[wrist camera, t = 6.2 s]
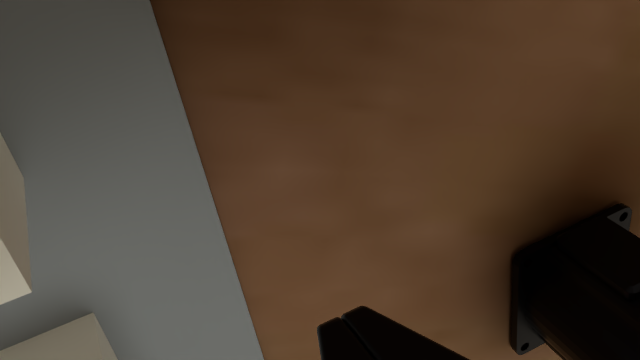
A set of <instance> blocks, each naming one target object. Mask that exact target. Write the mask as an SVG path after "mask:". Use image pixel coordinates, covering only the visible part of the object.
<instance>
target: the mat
mask: <svg viewBox="0 0 640 360" xmlns="http://www.w3.org/2000/svg"><path fill="white" fill-rule="evenodd" d="M0 133H1V135H2V137H3V139H4V141H5V143H6V145H7V147H8V148H9V150H10V152H11V154H12V156H13V158H14V160H15V162H16V164H17V166H18V168H19V170H20V172H21V174H22V176H23V177H24V187H25V201H26V215H27V229H28V243H29V257H30V271H31V285H32V292H31V293H29V294H26V295H24V296H21V297H19V298H16V299H14V300H11V301H9V302H6V303H4V304H1V305H0V351H1V350H3V349H6V348H8V347H11V346H13V345H16V344H18V343H20V342H23V341H25V340H28V339H30V338H33V337H35V336H37V335H40V334H42V333H45V332H47V331H49V330H52V329H54V328H57V327H59V326H62V325H64V324H66V323H69V322H71V321H74V320H76V319H78V318H81V317H83V316H86V315H88V314H91V313H94V315H95V317H96V318H97V320H98V322H99V324H100V326H101V328H102V330H103V332H104V334H105V336H106V338H107V340H108V342H109V344H110V345H111V347H112V349H113V351H114V353H115V355H116V357H117V359H118V360H264V358H263V355H262V352H261V349H260V346H259V342H258V339H257V336H256V333H255V330H254V327H253V324H252V320H251V317H250V314H249V311H248V308H247V305H246V302H245V298H244V295H243V292H242V289H241V286H240V283H239V280H238V276H237V273H236V270H235V267H234V264H233V261H232V258H231V254H230V251H229V248H228V245H227V242H226V239H225V236H224V232H223V229H222V226H221V223H220V220H219V217H218V214H217V211H216V207H215V204H214V201H213V198H212V195H211V192H210V189H209V185H208V182H207V179H206V176H205V173H204V170H203V167H202V163H201V160H200V157H199V154H198V151H197V148H196V145H195V141H194V138H193V135H192V132H191V129H190V126H189V123H188V119H187V116H186V113H185V110H184V107H183V104H182V101H181V97H180V94H179V91H178V88H177V85H176V82H175V79H174V75H173V72H172V69H171V66H170V63H169V60H168V57H167V53H166V50H165V47H164V44H163V41H162V38H161V35H160V31H159V28H158V25H157V22H156V19H155V16H154V13H153V9H152V6H151V3H150V0H0Z"/></svg>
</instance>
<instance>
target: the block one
mask: <svg viewBox="0 0 640 360" xmlns="http://www.w3.org/2000/svg"><path fill="white" fill-rule="evenodd" d="M0 360H118V359H117V357H116V355H115V353H114V351H113V349H112V347H111V345H110V344H109V342H108V340H107V338H106V336H105V334H104V332H103V330H102V328H101V326H100V324H99V322H98V320H97V318H96V317H95V315H94V313H91V314H88V315H86V316H83V317H81V318H78V319H76V320H74V321H71V322H69V323H66V324H64V325H62V326H59V327H57V328H54V329H52V330H49V331H47V332H45V333H42V334H40V335H37V336H35V337H33V338H30V339H28V340H25V341H23V342H20V343H18V344H16V345H13V346H11V347H8V348H6V349H3V350H1V351H0Z"/></svg>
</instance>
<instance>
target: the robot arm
mask: <svg viewBox="0 0 640 360" xmlns="http://www.w3.org/2000/svg"><path fill="white" fill-rule="evenodd" d="M631 214H632V210H631V208H629V207H628V206H626V205H624V204H622V203H620V204H617V205H615V206H613V207H611V208H609V209H606V210H604V211H602V212H600V213H598V214H596V215H594V216H592V217H590V218H588V219H585V220H583V221H581V222H579V223H577V224H575V225H573V226H571V227H569V228H567V229H564V230H562V231H560V232H558V233H556V234H554V235H552V236H550V237H548V238H545V239H543V240H541V241H539V242H537V243H535V244H533V245H531V246H529V247H527V248H524V249H522V250H521V251H519V252H518V253H517V254H516V255H515V257H514V259H513V276H512V329H511V347H512V349H513V350H514V351H515V352H516V353H517V354H519V355H522V354H525V353H527V352H529V351H531V350H532V349H534V348H536V347H538V346H540V345H542V344H544V343H546V344H547V345H548V346H549V347H550V348H551V349H552V350H553V351H554V352H555V353H556V354H557V355H559V356H560V357H561V358H562V359H563V360H640V238H639V237H637V236H636V235H634V234H632V233H631V232H629V227H630V221H631ZM317 334H318V340H319V347H320V354H321V360H469V359H467V358H465V357H464V356H462V355H460V354H458V353H456V352H454V351H452V350H450V349H448V348H446V347H444V346H442V345H440V344H438V343H436V342H434V341H432V340H430V339H428V338H427V337H425V336H423V335H421V334H419V333H417V332H415V331H413V330H411V329H409V328H407V327H405V326H403V325H401V324H399V323H397V322H395V321H393V320H391V319H389V318H388V317H386V316H384V315H382V314H380V313H378V312H376V311H374V310H372V309H370V308H368V307H366V306H360V307H357V308H355V309H353V310H351V311H349V312H346V313H344V314H343V315H342V316H341V318H339V317H336V318H334V319H331V320H329V321H327V322H325V323H323V324H321V325H319V326H318V328H317Z"/></svg>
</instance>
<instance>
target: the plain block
mask: <svg viewBox="0 0 640 360" xmlns="http://www.w3.org/2000/svg"><path fill="white" fill-rule="evenodd" d="M31 292H32V285H31V271H30V257H29V243H28V229H27V215H26V201H25V187H24V177H23V176H22V174H21V172H20V170H19V168H18V166H17V164H16V162H15V160H14V158H13V156H12V154H11V152H10V150H9V148H8V147H7V145H6V143H5V141H4V139H3V137H2V135H1V133H0V305H1V304H4V303H6V302H9V301H11V300H14V299H16V298H19V297H21V296H24V295H26V294H29V293H31Z"/></svg>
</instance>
